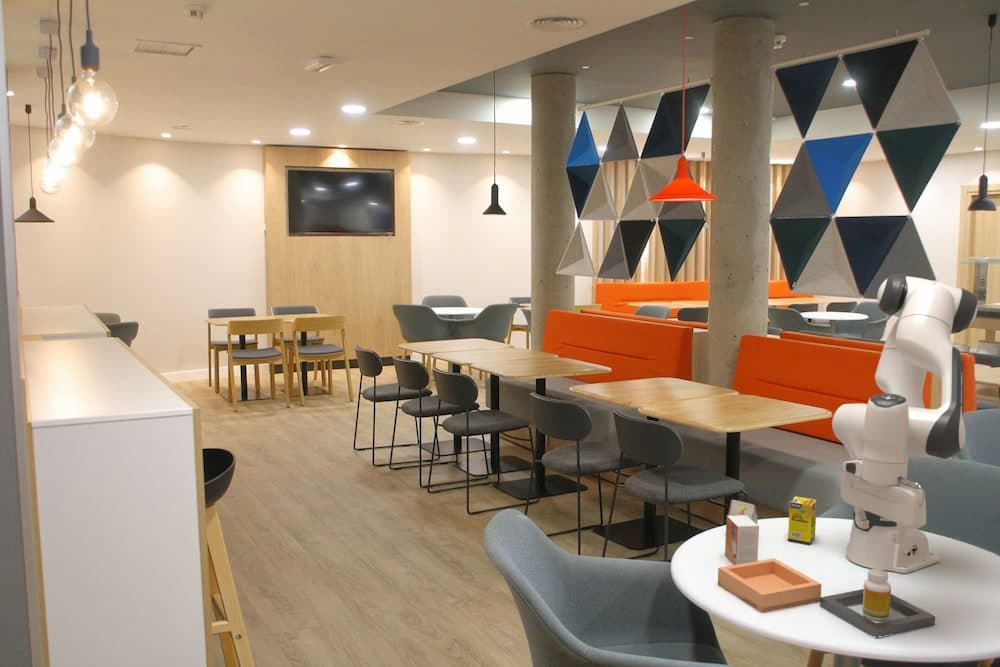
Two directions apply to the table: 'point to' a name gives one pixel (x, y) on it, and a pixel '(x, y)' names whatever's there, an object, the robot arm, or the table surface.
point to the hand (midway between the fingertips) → (880, 535)
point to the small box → (741, 539)
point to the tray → (769, 584)
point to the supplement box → (802, 520)
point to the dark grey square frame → (912, 622)
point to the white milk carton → (743, 510)
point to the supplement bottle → (877, 595)
